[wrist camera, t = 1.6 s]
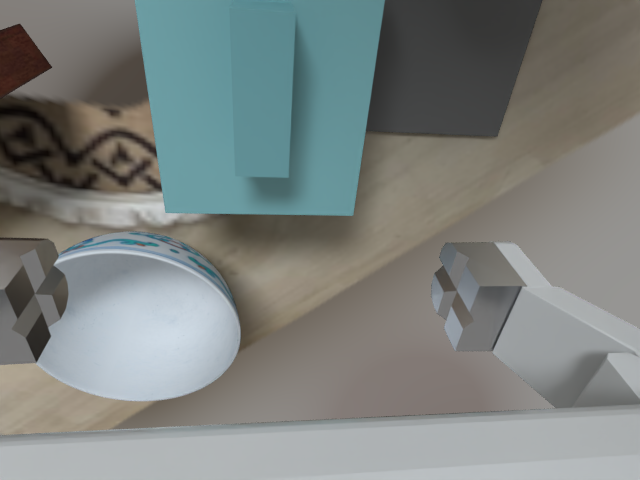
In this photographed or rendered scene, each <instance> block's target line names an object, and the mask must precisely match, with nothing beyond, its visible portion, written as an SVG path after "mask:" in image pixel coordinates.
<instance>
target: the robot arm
mask: <svg viewBox="0 0 640 480" xmlns="http://www.w3.org/2000/svg"><path fill="white" fill-rule="evenodd" d="M58 257H59V255H58V253H57V250H56V247H55V245H54V243H53V242H52V241H50V240H49V239H37V238H0V365H6V364H24V363H37V361H38V359H39V357H40V356H41V354H42V352H43V350H44V348H45V347H46V345H47V343H48V341H49V339H50V338H51V334H50V331H49V329H48V327H49V326H51V325H53V324H54V323H56V322H57V321H59V320H60V319H61V317H62V315H63V313H64V311H65V310H66V306H67V301H68V296H69V293H68V283H67V280H66V277H65V274H64V273H63V272H61V271H60V270H59V269H58V268H56V267H55V266H54V264H55V262H56V261H57V259H58ZM439 258H440V260H441V262H442V264H443V266H442V267H441V268H440V269H439V270H438V271H437V272H435V273H434V277H433V281H432V285H431V289H432V290H431V295H432V296H431V297H432V301H433V305H434V308H435V310H436V312H437V314H438V315H440V316H441V317H443V318H444V319H446V323H445V327H444V329H445V331H446V334H447V336H448V338H449V340H450V342H451V344H452V346H453V348H454V350H455V351H493V352H492V353H493V354H494V355H495V356H496V357H497V358H498V359H500V360H501V361H502V362H503V363H504V364H506V365H507V366H508V367H509V368H510V369H511V370H512V371H513V372H515V373H516V374H517V375H518V376H519V377H520V378H522V379H523V380H524V381H525V382H526V383H527V384H529V385H530V386H531V387H532V388H533V389H534V390H536V391H537V392H538V393H539V394H540V395H541V396H543V397H544V398H545V399H546V400H547V401H548V402H549V403H551V404H552V405H553V406H554V407H555V408H553V409H532V410H512V411H491V412H472V413H449V414H429V415H408V416H388V417H387V416H386V417H366V418H345V419H324V420H303V421H284V422H283V421H282V422H262V423H241V424H222V425H200V426H181V427H180V426H179V427H160V428H138V429H119V430H97V431H76V432H55V433H35V434H14V435H0V480H640V329H639V328H638V327H636V326H634V325H632V324H630V323H628V322H626V321H624V320H622V319H620V318H618V317H616V316H614V315H613V314H610V313H609V312H607V311H605V310H603V309H601V308H599V307H597V306H595V305H593V304H592V303H590V302H588V301H586V300H584V299H582V298H580V297H578V296H576V295H574V294H572V293H570V292H568V291H566V290H565V289H562V288H561V287H552V286H551V284H550V283H549V282H548V281H547V280H546V279H545V277H544V276H543V275H542V274H541V273H540V272H539V270H538V269H537V268H536V267H535V266H534V264H533V263H532V262H531V261H530V260H529V259H528V258H527V256H526V255H525V254H524V253H523V251H521V249H520V248H519V247H518V246H517V244H515V243H513V242H511V241H504V242H503V241H502V242H472V243H471V242H468V243H467V242H462V243H446V244H445V245H444V246H443V248H442V250H441V253H440V257H439Z"/></svg>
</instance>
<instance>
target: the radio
mask: <svg viewBox="0 0 640 480" xmlns="http://www.w3.org/2000/svg"><path fill="white" fill-rule="evenodd" d="M51 68H52V66H51V65H50V64H49V63H48V61H47V60H46V58H45V57H44V56H43V54H42V53H41V52H40V50H39V49H38V48H37V46H36V45H35V43H34V42H33V41H32V39H31V38H30V37H29V35H28V34H27V33H26V31H25V30H24V29H23V27H22V26H21V25H20V24H17V25H14V26H12V27H8V28H6V29H3V30H0V98H2V97H4V96H5V95H7V94H9V93H10V92H12V91H14V90H15V89H17V88H19V87H20V86H22V85H24V84H25V83H27V82H29V81H30V80H32V79H34V78H35V77H37V76H39V75H40V74H42V73H44V72H45V71H47V70H49V69H51Z"/></svg>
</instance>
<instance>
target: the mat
mask: <svg viewBox="0 0 640 480" xmlns="http://www.w3.org/2000/svg"><path fill="white" fill-rule="evenodd" d="M541 3H542V0H385V3H384V10H383V16H382V23H381V30H380V37H379V43H378V50H377V57H376V64H375V71H374V77H373V84H372V91H371V98H370V105H369V111H368V118H367V125H366V131H378V132H402V133H426V134H450V135H474V136H498V133H499V130H500V127H501V124H502V121H503V118H504V115H505V112H506V108H507V105H508V102H509V99H510V96H511V93H512V90H513V87H514V84H515V81H516V78H517V75H518V72H519V69H520V66H521V63H522V60H523V57H524V54H525V51H526V48H527V45H528V42H529V39H530V36H531V33H532V30H533V27H534V24H535V21H536V18H537V15H538V12H539V9H540V6H541Z"/></svg>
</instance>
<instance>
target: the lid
mask: <svg viewBox="0 0 640 480" xmlns="http://www.w3.org/2000/svg"><path fill="white" fill-rule="evenodd" d="M384 3H385V0H135V5H136V11H137V18H138V25H139V32H140V39H141V46H142V53H143V60H144V67H145V74H146V80H147V88H148V95H149V101H150V108H151V115H152V122H153V129H154V136H155V143H156V150H157V157H158V164H159V171H160V177H161V184H162V191H163V198H164V205H165V212H166V213H203V214H271V215H339V216H353V213H354V206H355V200H356V193H357V186H358V179H359V172H360V166H361V159H362V152H363V145H364V139H365V132H366V125H367V118H368V111H369V105H370V98H371V91H372V84H373V77H374V71H375V64H376V57H377V50H378V43H379V37H380V30H381V23H382V16H383V10H384Z"/></svg>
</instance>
